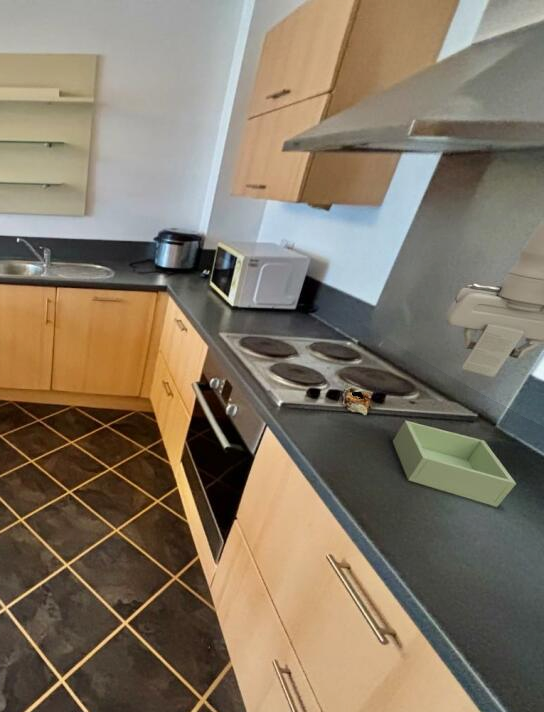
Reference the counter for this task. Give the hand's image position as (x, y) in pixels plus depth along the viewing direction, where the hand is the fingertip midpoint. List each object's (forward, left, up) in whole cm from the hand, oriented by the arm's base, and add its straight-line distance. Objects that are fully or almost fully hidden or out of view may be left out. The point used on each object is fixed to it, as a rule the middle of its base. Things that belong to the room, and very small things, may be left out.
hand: (489, 352), depth 91 cm
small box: (0, 0, -4) cm, 4 cm away
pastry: (+17, -3, -21) cm, 27 cm away
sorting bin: (+5, +21, -21) cm, 30 cm away
